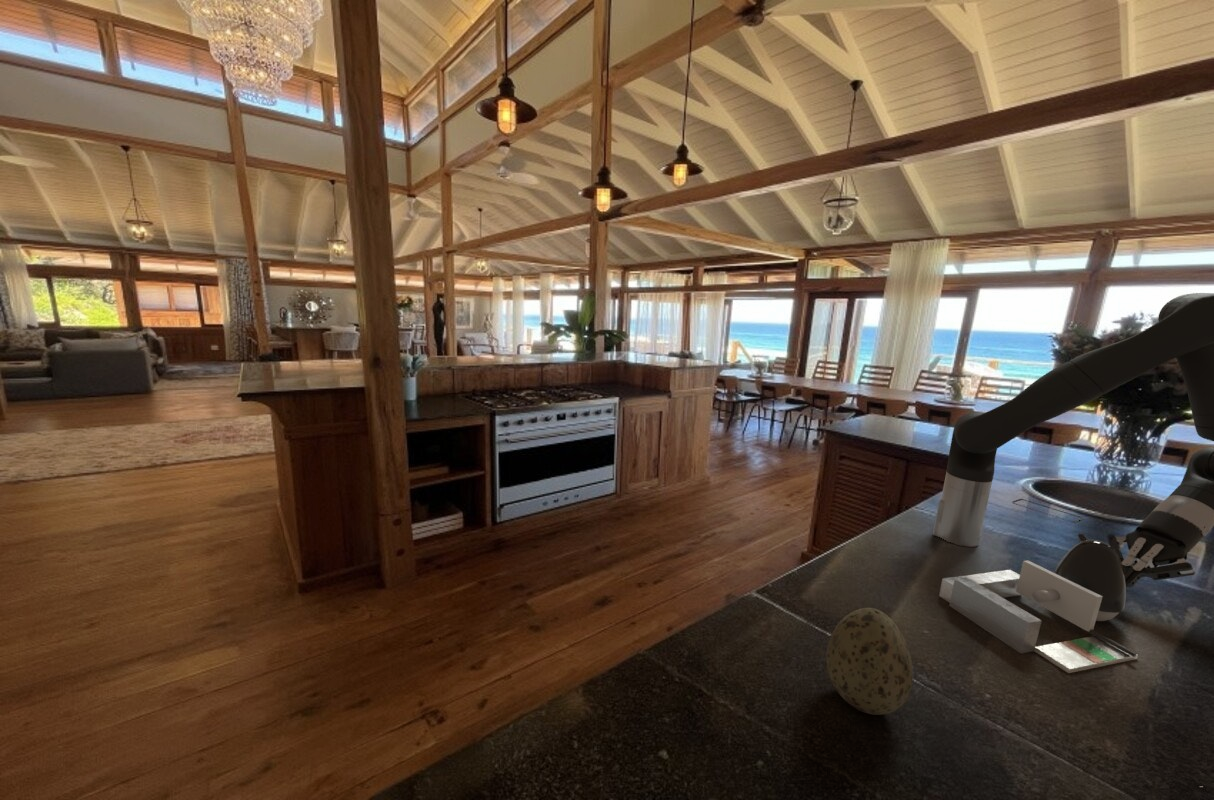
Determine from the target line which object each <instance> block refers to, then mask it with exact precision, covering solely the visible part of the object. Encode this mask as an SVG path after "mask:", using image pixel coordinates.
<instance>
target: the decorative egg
mask: <svg viewBox="0 0 1214 800" xmlns="http://www.w3.org/2000/svg"><path fill="white" fill-rule="evenodd" d="M825 655H826V656H825V660H826V668H827V672H828V675H829V678H830V681H831V683H832V685H833V687H834V689H835V690H836V691H837V693H838V694H839V695H840V697H841V698H842V699H843V700H844V701H845V702H846V703H847V704H849V705H850V706H851V707H853V708H855V709H856V710H858V711H860V712H863V713H865V714H868V715H875V716H880V715H881V716H882V715H887V714H889V713H893V712H895V711H897V710H898V709H900V708H901V707H902V706H903V705H904V704H905V702H907V699H908V698H909V696H910V694H911V691H912V686H913V678H914V673H913V672H914V669H913V668H914V667H913V662H912V658H911V657H912V656H911V653H910V649H909V647H908V644H907V642H906V639H905V638H904V635H903V634H902V632H901V630H900V628H899V627H898V626H897V624H896V623H895V622H894V620H893V619H892V618H891V617H889V615H887V614H886V613H885V612H883V611H881V610H880V609H877V608H874V607H863V608H858V609H856V610H854V611H852V612H850V613H848V614H847V615H845V616H844V617H843V618H842V619H841V620H840V621H839V622H838V623H837V625H836V626H835V628H834V629H833V631H832V633H831V635H830V638H829V639H828V643H827V647H826V654H825Z"/></svg>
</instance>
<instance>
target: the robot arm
mask: <svg viewBox="0 0 1214 800" xmlns="http://www.w3.org/2000/svg"><path fill="white" fill-rule="evenodd" d="M1157 320H1158V322H1156V323H1155V324H1153V325H1151V326H1150V327H1148V328H1145V329H1144V330H1142V331H1140V332H1139V333H1136V334H1135V335H1133V336H1130V337H1128V338H1125V339H1123V340H1122V339H1121V340H1120V341H1118V342H1114V343H1111V344H1108V345H1105V346H1101V347H1099V348H1096V349H1093V350H1090V351H1088V352H1086V353H1082V354H1080V355H1078V356H1076V357H1074V358H1072V359H1070V360H1068V361H1066V362H1064V363H1062V364H1061V365H1059V366H1057V367H1055V368H1053V369H1052V370H1050V371H1047V372H1046V373H1045V374H1043V375H1042V376H1040V377H1039V378H1038V379H1036V380H1035V381H1034V382H1032V383H1031V384H1029V386H1027V387H1026V388H1025V389H1023V390H1022V391H1021V392H1019V393H1018V394H1017V395H1016V396H1015V397H1013V398H1012V399H1010V400H1009V401H1008V400H1007V402H1005V403H1003V404H1001V405H998V406H997V407H994V408H992V409H991V410H990V409H989V410H988V411H985V412H980V411H979V412H978V411H974V412H968V413H966V414H963V415H962V416H960V417H959V418H958V419H957V421H956V422H955V424H954V426H953V431H952V436H951V442H950V446H949V451H948V459H947V467H946V472H945V473H946V474H945V479H944V483H943V488H942V493H941V497H940V500H939V501H938V504H937V511H936V513H935V514H936V516H935V520H934V526H933V531H932V536H936V537H937V538H939V537H940V539H941V538H942V539H941V540H943V539H944V540H943V541H945V540H946V541H945V542H948V543H950V542H951V544H953V543H954V544H953V545H957V546H961V547H971V548H974V547H977V546H979V545H980V541H981V535H982V530H983V526H984V522H985V516H986V512H987V507H988V503H989V499H990V494H991V489H992V484H993V481H994V475H995V463H996V462H995V461H996V456H997V455H996V454H997V451H998V449H999V448H1001V447H1002V446H1004V445H1005V444H1008V443H1009V442H1010V441H1012V440H1013V439H1015V438H1017V437H1018V436H1020V435H1022V434H1024V433H1025V432H1026V431H1028V430H1030V429H1032V428H1033V427H1036V426H1038V425H1040V424H1042V423H1045V422H1047V421H1049V420H1053V419H1054V418H1056V417H1059V416H1061V415H1063V414H1065V413H1067V412H1070V411H1072V410H1074V409H1076V408H1079V407H1080V406H1083V405H1085V404H1087V403H1089V402H1092V401H1093V400H1096V399H1097V398H1099V397H1101V396H1103V395H1106V394H1108V393H1109V392H1112V391H1113V390H1115V389H1117V388H1118V387H1121V386H1123V385H1125V384H1126V383H1128V382H1131V381H1132V380H1135V379H1136V378H1139V377H1140V376H1143V374H1144V375H1145V374H1146V373H1147V372H1149V371H1151V370H1153V369H1155V368H1157V367H1159V366H1161V365H1162V364H1165V363H1167V362H1169V361H1171V360H1172V361H1173V360H1174V359H1176V361H1177V364H1178V366H1179V370H1180V373H1181V375H1182V378H1183V382H1184V385H1185V389H1186V393H1187V396H1188V401H1189V404H1190V409H1191V410H1190V411H1191V415H1192V419H1193V424H1194V428H1195V431H1196V433H1197V435H1198V437H1200V438H1202V439H1204V440H1208V441H1210V442H1214V293H1213V292H1212V293H1211V292H1210V293H1209V292H1196V293H1195V292H1193V293H1192V292H1190V293H1186V294H1182V295H1181V294H1180V295H1178V296H1176V297H1175V298H1172V299H1171V300H1169V301H1168V302H1166V303H1165V304H1164V305H1163V306H1162V308H1161V309H1160V311H1159V312H1158V318H1157ZM1212 528H1214V446H1212V447H1211V446H1209V447H1205V448H1201V449H1199V450H1197V451H1195V452H1194V453H1193V454H1192V455H1191V457H1190V458H1189V460H1188V464H1187V468H1186V471H1185V472H1184V475H1183V478H1182V480H1181V483H1180V484H1179V485H1178V486H1177V487H1176V488H1175V489H1174V491H1172V493H1170V495H1169V496H1167V497H1166V498H1165V499H1164V500H1162V501H1161V502H1160V503H1158V504H1157V506H1156V507H1155V508H1153V510H1152V511H1151V512H1150V513H1149V514H1148V515H1147V516H1146V517H1145V518H1144V519H1143V520H1142V521H1141V522H1140V523H1139V524H1138V525H1137V527H1136V528H1135V529H1134V530H1132V531H1131V532H1128V533H1127V534H1126V535H1124V536H1123V535H1122V536H1115V534H1112V533H1109V534H1107V535H1106V538H1107V541H1108V545H1110V546H1111V547H1112V548H1113V549H1114V550H1115V551H1116V553H1117V554H1118V556H1119V558H1120V560H1121V563H1122V566H1123V571H1124V576H1125V585H1126V589H1127V588H1129V589H1130V588H1132V587H1134V586H1135V585H1136V584H1137V583H1138V581H1140V580H1141V579H1142V578H1149V579H1151V580H1153V581H1160V580H1161V581H1162V580H1169V579H1175V578H1182V577H1189V576H1190V577H1191V576H1194V575H1195V574H1196V571H1195V569H1194V567H1193V565H1192V563H1190V562H1188V561H1187V559H1188V553H1190V552H1191V551H1192V550H1193V549H1194V548H1195V547H1196V546H1197V545H1198V544H1199V542H1201V540H1202V539H1204V537H1206V536H1207V535H1208V534H1209V533H1210V531H1212ZM1126 544H1127V548H1128V551H1127V554H1126V557H1124V556H1123V555H1124V554H1123V553H1122V550H1121V549H1123V548H1124V547H1125V545H1126Z"/></svg>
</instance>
